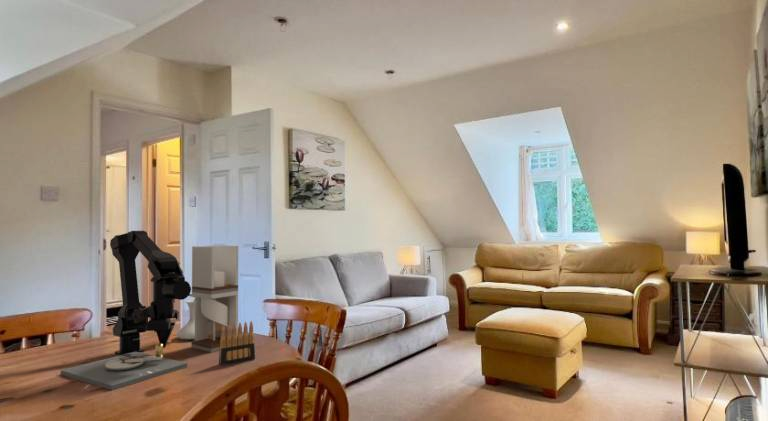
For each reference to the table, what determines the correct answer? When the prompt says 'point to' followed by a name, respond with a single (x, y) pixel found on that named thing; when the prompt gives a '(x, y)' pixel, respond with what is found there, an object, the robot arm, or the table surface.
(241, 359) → the ammunition clip
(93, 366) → the stand base
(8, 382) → the table surface
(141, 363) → the disc crank with handle
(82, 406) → the table surface
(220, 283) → the display case
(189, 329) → the flower in vase
